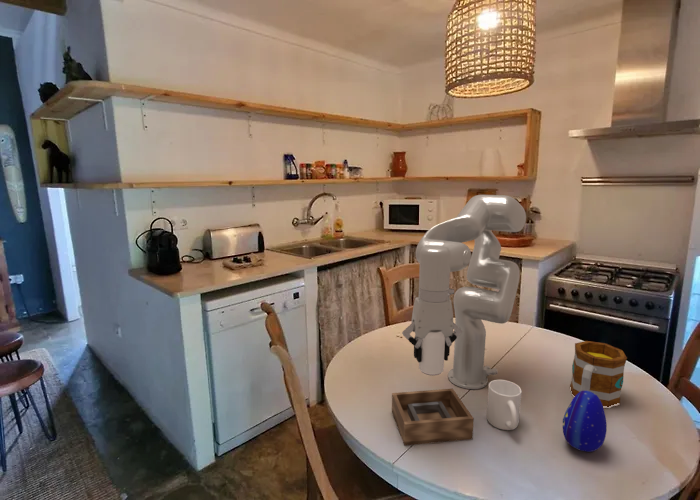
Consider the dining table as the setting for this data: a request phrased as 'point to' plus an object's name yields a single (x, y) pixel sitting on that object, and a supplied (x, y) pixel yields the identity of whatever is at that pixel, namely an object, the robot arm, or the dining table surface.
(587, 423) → the ornament
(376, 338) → the dining table surface
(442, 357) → the can
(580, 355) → the mug
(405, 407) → the bin
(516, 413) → the mug
